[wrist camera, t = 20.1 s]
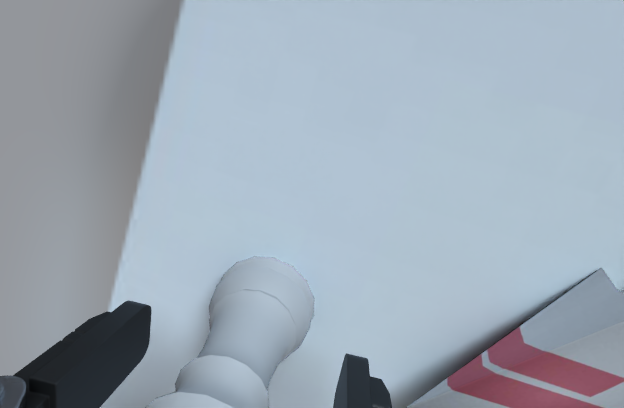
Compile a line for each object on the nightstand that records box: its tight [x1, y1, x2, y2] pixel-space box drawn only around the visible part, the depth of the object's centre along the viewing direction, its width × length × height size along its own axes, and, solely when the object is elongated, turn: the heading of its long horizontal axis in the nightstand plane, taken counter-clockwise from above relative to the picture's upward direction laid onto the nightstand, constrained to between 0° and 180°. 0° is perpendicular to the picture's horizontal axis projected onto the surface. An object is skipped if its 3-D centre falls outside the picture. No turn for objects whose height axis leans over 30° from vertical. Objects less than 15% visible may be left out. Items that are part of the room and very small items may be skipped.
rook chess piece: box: [145, 257, 314, 408], centre depth 10 cm, size 4×4×8 cm
